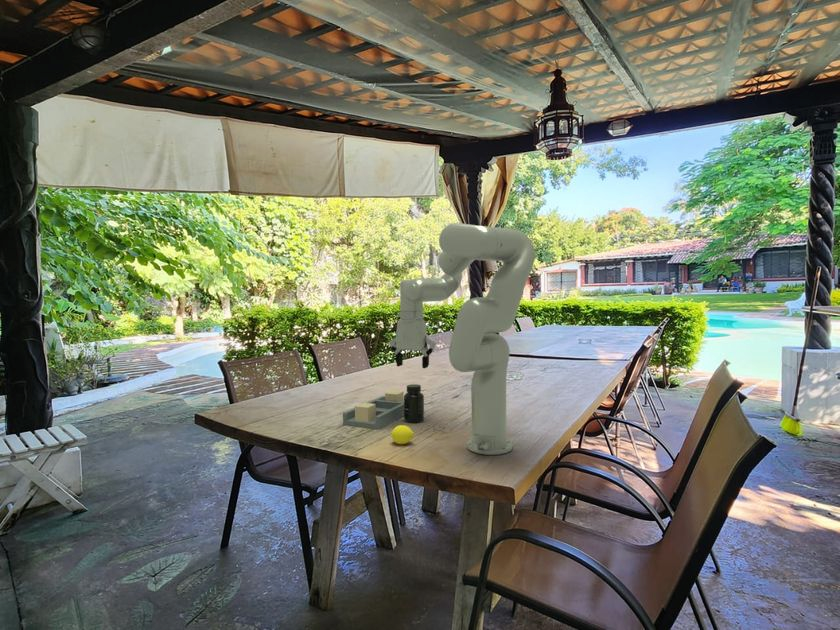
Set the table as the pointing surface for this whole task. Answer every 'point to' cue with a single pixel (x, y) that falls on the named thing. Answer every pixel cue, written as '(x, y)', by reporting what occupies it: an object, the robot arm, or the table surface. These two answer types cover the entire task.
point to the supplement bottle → (413, 404)
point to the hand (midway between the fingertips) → (412, 366)
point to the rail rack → (376, 411)
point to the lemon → (402, 434)
